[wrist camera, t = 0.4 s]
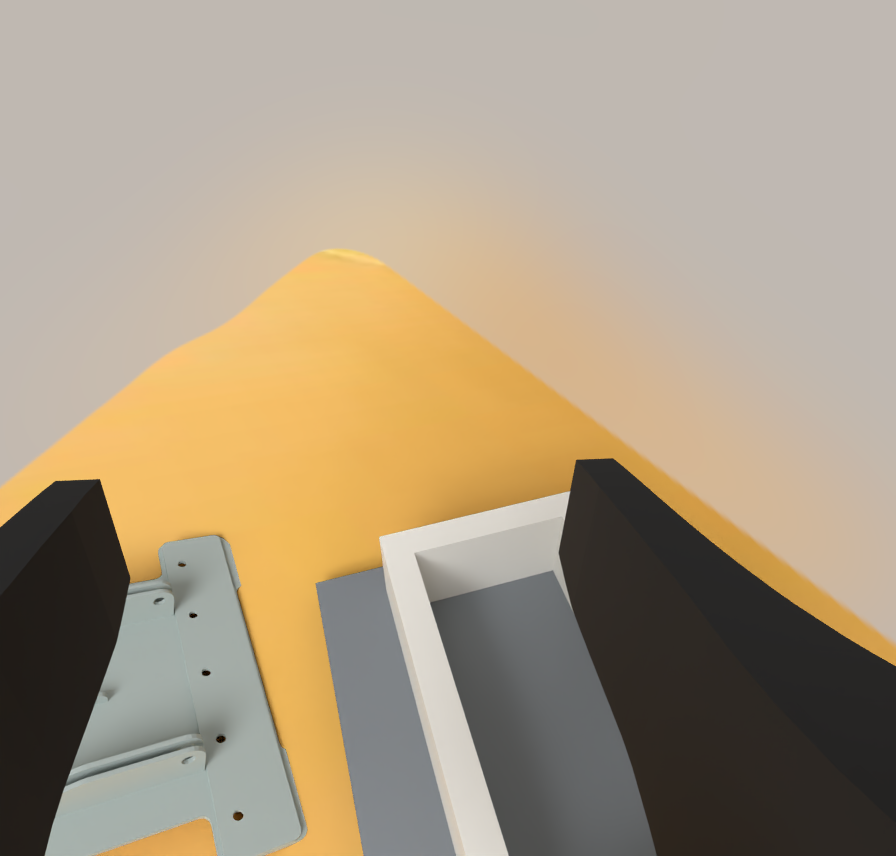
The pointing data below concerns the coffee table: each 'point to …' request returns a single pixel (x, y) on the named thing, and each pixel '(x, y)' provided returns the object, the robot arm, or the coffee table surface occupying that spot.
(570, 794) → the well
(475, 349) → the coffee table surface
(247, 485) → the coffee table surface
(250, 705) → the metal bracket
